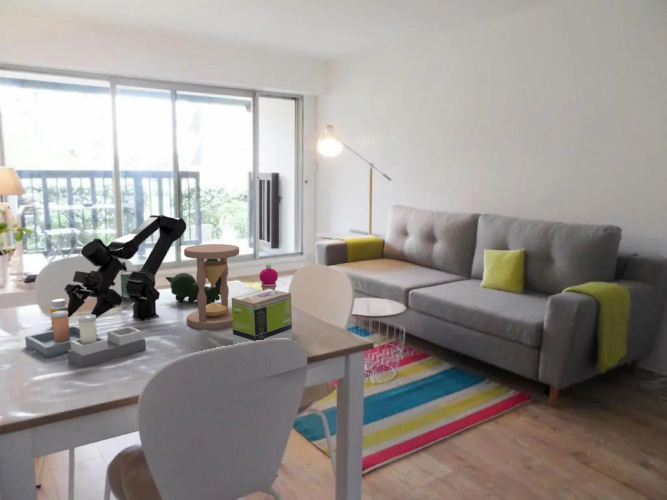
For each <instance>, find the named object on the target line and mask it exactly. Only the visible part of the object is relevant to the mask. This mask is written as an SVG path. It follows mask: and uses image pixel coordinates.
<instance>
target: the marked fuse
mask: <svg viewBox="0 0 667 500" xmlns="http://www.w3.org/2000/svg"><path fill="white" fill-rule="evenodd" d="M52 321H53V326H52V328H53V329H52V330H53V333H54V344H58V343H63V342H67V341H70V333H69V327H70V324H69V318H68V311H56V312H53V313H52V320H51V322H52Z"/></svg>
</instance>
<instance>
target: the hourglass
mask: <svg viewBox="0 0 667 500" xmlns="http://www.w3.org/2000/svg"><path fill="white" fill-rule="evenodd" d="M183 255H184V257H186V258H191V259H196V277H195V278H196V279H195V280H196V282H197V284H198V287H199V292H198V296H197V300H196V301H197V302H196V303H197V307H198V310H195V311H192V312H191V313H188V315H187V316H186V324H187V325H188V327H190V326H191V328H194V329H198V330H218V329H226V328H230V327H233V322H232V308H229V294H230V293H229V292H230V291H229V290H230V289H229V285H228V281H227V279H228V276H229V266H228V259H229V258H233V257H237V256H239V255H240V247H239V246H237V245H233V244H224V243H212V244H210V243H209V244H197V245H196V244H195V245H190V246H187V247H185V248H184V249H183ZM207 259H218V260H219V261H208V262H205V260H207ZM219 277H221V280H222V283H221V287H220V295H219V296H220V300H221V301H220V303H217V302H213V303H211V302H210V303H209V304H207V303H208V302H207V297H206V294H205V291H204V287H205V286H206V281H208V283H210V286H209V287H216V285H215V283H216V282H217V280H218V279H219Z"/></svg>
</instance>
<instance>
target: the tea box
mask: <svg viewBox="0 0 667 500" xmlns="http://www.w3.org/2000/svg"><path fill="white" fill-rule="evenodd" d="M231 309H232V322H233V326H232V343H233V345H234V344H237V343H242V342H248V341H256V340H264V339H272V338H289V339H292V340H293V317H292V316H293V315H292V311H293V310H292V293H291V292H286V291H280V290H277V289H275V290H272V289H265V290H263V289H260V290H258V291H254V292H250V293H246V294H241V295H239V296H235V297H231Z"/></svg>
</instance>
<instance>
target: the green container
mask: <svg viewBox="0 0 667 500" xmlns="http://www.w3.org/2000/svg"><path fill="white" fill-rule="evenodd" d="M133 271H135V272H139V271H140V270H127V271H120V272H119V273H120V286H121V287H120V289H121V296H122V302H123V303H125V304H127V303H128V304H129V303H130V304H131V303H132V304H133V303H134V299H130V297H129V294H128V293H127V289H126V285H127V280H128V279H129V278H130V276H131V273H132V272H133Z"/></svg>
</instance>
